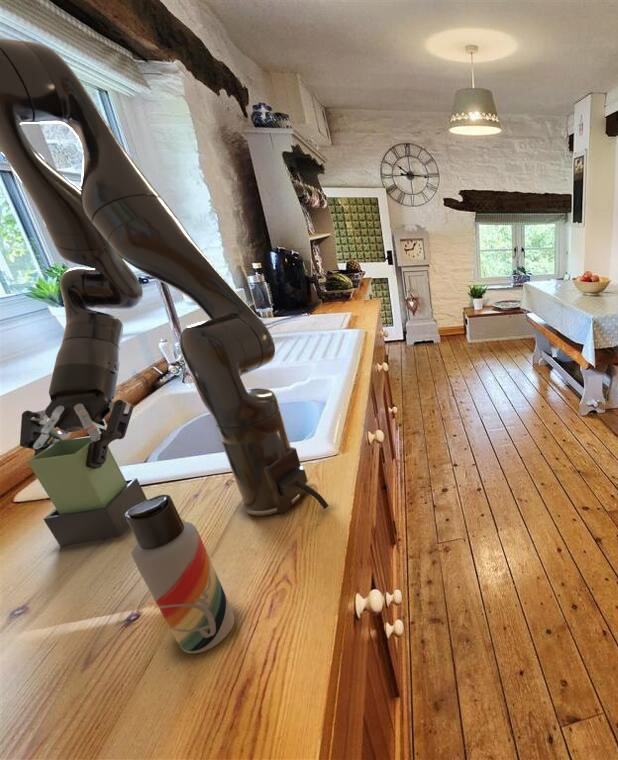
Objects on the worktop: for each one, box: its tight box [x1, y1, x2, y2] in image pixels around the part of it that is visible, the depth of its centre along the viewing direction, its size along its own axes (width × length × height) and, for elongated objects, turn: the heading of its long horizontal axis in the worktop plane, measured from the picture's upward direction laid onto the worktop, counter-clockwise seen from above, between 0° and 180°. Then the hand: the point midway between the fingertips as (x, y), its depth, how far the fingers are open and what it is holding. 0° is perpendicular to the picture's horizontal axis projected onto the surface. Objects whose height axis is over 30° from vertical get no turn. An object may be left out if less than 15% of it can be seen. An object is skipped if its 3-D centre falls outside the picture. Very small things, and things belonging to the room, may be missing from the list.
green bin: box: [27, 436, 128, 515], centre depth 65 cm, size 6×6×10 cm
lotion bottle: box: [125, 494, 235, 654], centre depth 47 cm, size 6×6×20 cm
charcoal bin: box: [43, 477, 148, 547], centre depth 68 cm, size 8×8×6 cm
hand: (68, 470), depth 62 cm, fingers closed on green bin, 6 cm apart
